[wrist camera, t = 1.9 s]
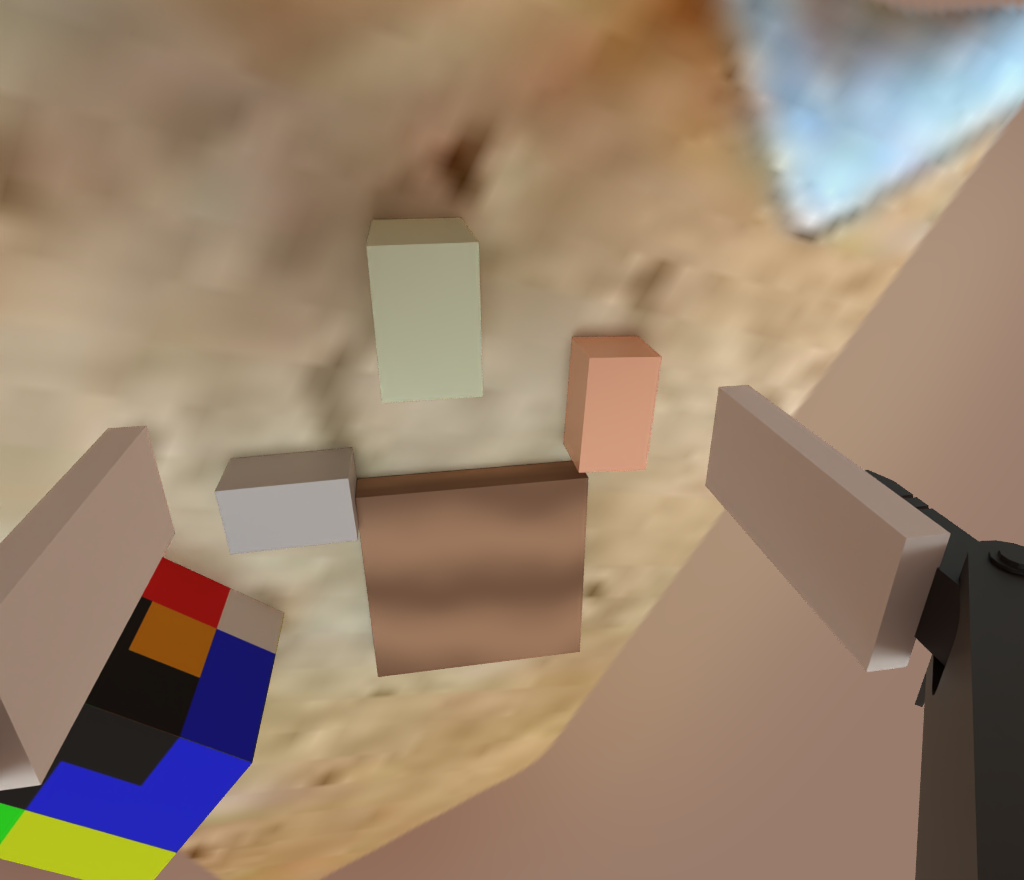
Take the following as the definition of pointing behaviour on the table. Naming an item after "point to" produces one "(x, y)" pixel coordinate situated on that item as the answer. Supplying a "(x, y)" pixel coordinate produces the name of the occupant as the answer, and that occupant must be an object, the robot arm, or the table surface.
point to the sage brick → (426, 308)
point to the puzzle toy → (151, 735)
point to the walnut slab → (473, 564)
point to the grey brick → (289, 500)
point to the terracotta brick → (610, 403)
